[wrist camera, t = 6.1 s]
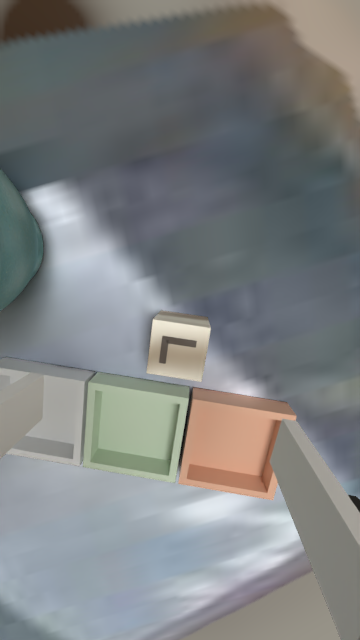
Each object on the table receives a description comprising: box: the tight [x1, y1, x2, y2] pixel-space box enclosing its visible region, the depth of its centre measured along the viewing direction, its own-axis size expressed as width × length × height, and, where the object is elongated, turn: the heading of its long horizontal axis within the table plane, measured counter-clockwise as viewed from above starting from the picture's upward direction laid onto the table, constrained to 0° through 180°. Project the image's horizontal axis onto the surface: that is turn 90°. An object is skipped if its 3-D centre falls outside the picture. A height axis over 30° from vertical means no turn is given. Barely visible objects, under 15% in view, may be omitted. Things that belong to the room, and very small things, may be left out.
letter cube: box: [147, 310, 211, 382], centre depth 22 cm, size 5×5×5 cm
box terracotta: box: [178, 387, 296, 500], centre depth 25 cm, size 11×11×2 cm
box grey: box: [0, 357, 95, 466], centre depth 26 cm, size 11×11×2 cm
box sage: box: [83, 372, 189, 483], centre depth 26 cm, size 11×11×2 cm
